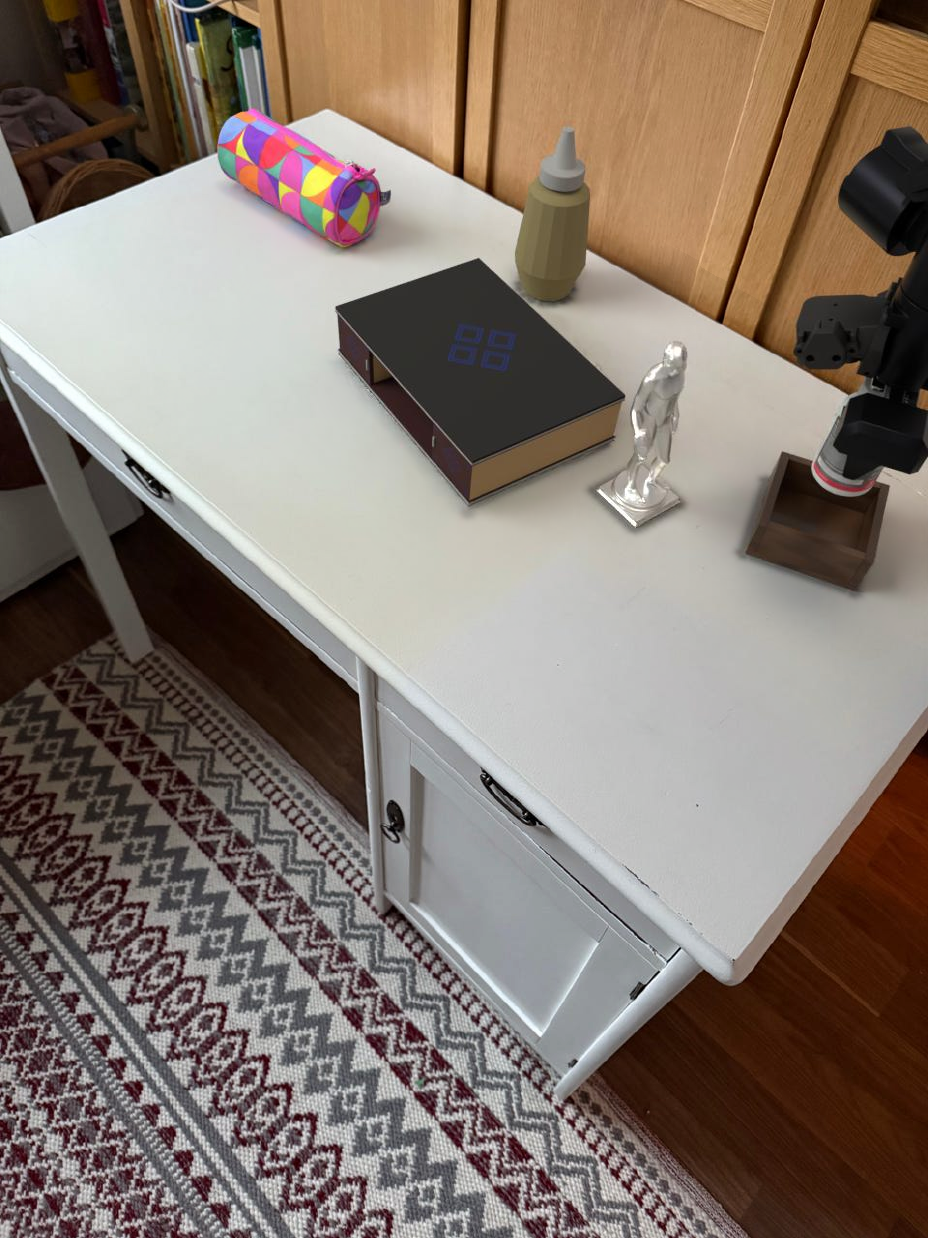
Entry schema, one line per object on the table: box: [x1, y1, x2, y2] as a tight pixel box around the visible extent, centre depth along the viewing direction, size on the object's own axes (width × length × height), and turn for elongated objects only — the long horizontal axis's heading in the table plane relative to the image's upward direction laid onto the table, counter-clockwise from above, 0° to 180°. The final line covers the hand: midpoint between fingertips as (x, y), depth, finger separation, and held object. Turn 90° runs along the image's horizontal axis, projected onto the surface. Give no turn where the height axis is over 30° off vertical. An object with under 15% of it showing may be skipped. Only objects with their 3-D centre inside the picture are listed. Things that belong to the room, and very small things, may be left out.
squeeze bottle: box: [514, 125, 591, 302], centre depth 98 cm, size 8×8×18 cm
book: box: [334, 257, 626, 508], centre depth 90 cm, size 17×25×7 cm
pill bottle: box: [812, 377, 904, 497], centre depth 74 cm, size 5×5×10 cm
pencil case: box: [216, 108, 392, 248], centre depth 108 cm, size 22×9×9 cm, turn 51°
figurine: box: [595, 340, 688, 528], centre depth 79 cm, size 8×7×18 cm
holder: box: [744, 450, 891, 592], centre depth 83 cm, size 10×10×4 cm
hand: (853, 455), depth 76 cm, fingers closed on pill bottle, 5 cm apart
